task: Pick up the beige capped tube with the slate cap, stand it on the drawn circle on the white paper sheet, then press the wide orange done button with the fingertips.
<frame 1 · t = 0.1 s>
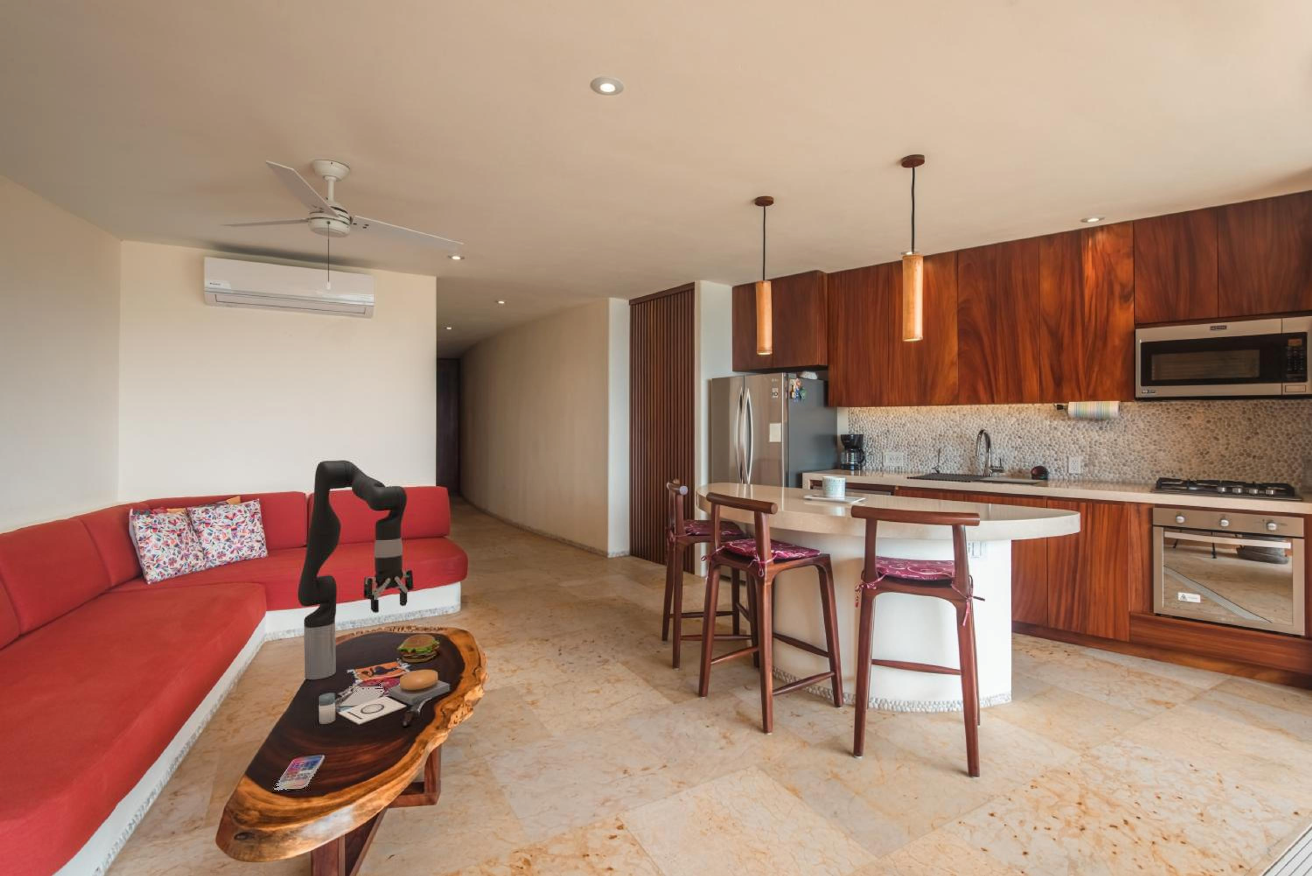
hand: (389, 608, 181), 29 cm above the table, tool pointing down, fingers open, 8 cm apart
done button: (419, 679, 192), point 4 cm above the table, slide at 0.0 cm
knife: (419, 709, 181), on the table, touching button base
beige capped tube: (327, 720, 173), on the table
food: (418, 658, 224), on the table
smartphone: (299, 776, 145), on the table
gaming console: (365, 697, 190), on the table
button base: (419, 693, 192), on the table
paper: (372, 710, 180), on the table
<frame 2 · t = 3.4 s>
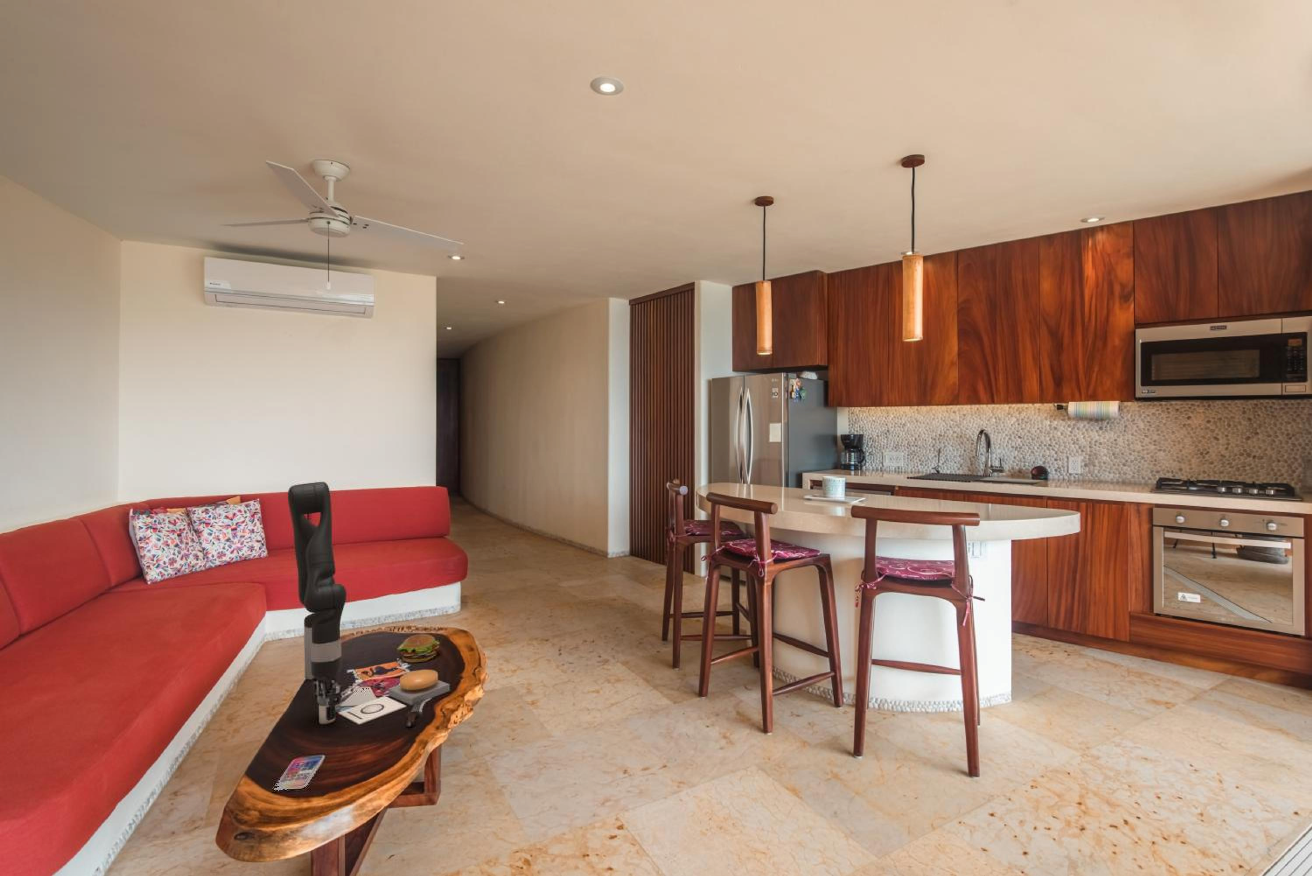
hand: (327, 716, 173), 1 cm above the table, tool pointing down, fingers closed on beige capped tube, 4 cm apart
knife: (420, 710, 181), on the table
beige capped tube: (327, 720, 173), on the table, touching gripper
everything else where it was.
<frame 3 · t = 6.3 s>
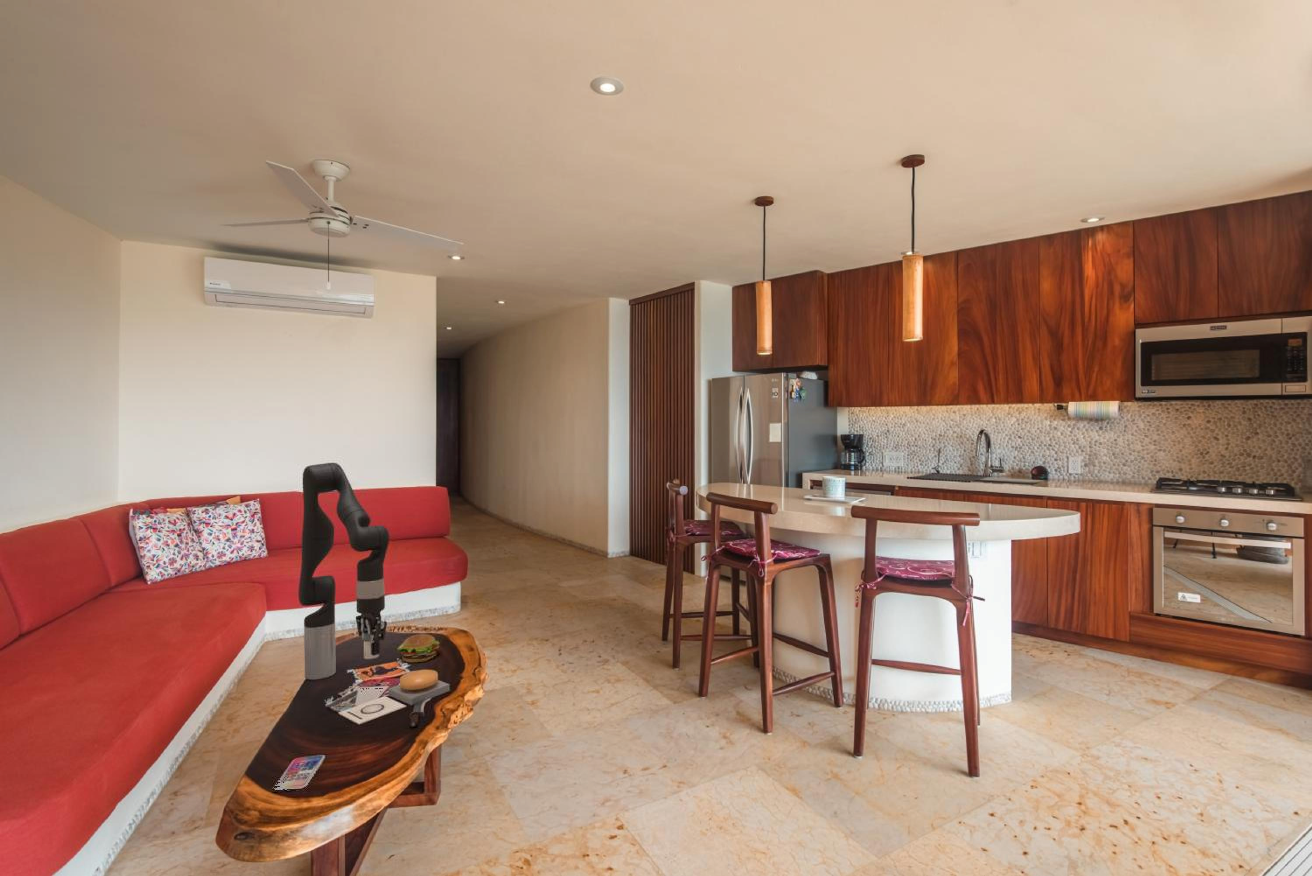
hand: (371, 652, 180), 17 cm above the table, tool pointing down, fingers closed on beige capped tube, 4 cm apart
beige capped tube: (371, 656, 180), point 16 cm above the table, touching gripper
when the fingers open (3 cm above the table, at t = 9.1 s): beige capped tube drops 1 cm, resting on paper.
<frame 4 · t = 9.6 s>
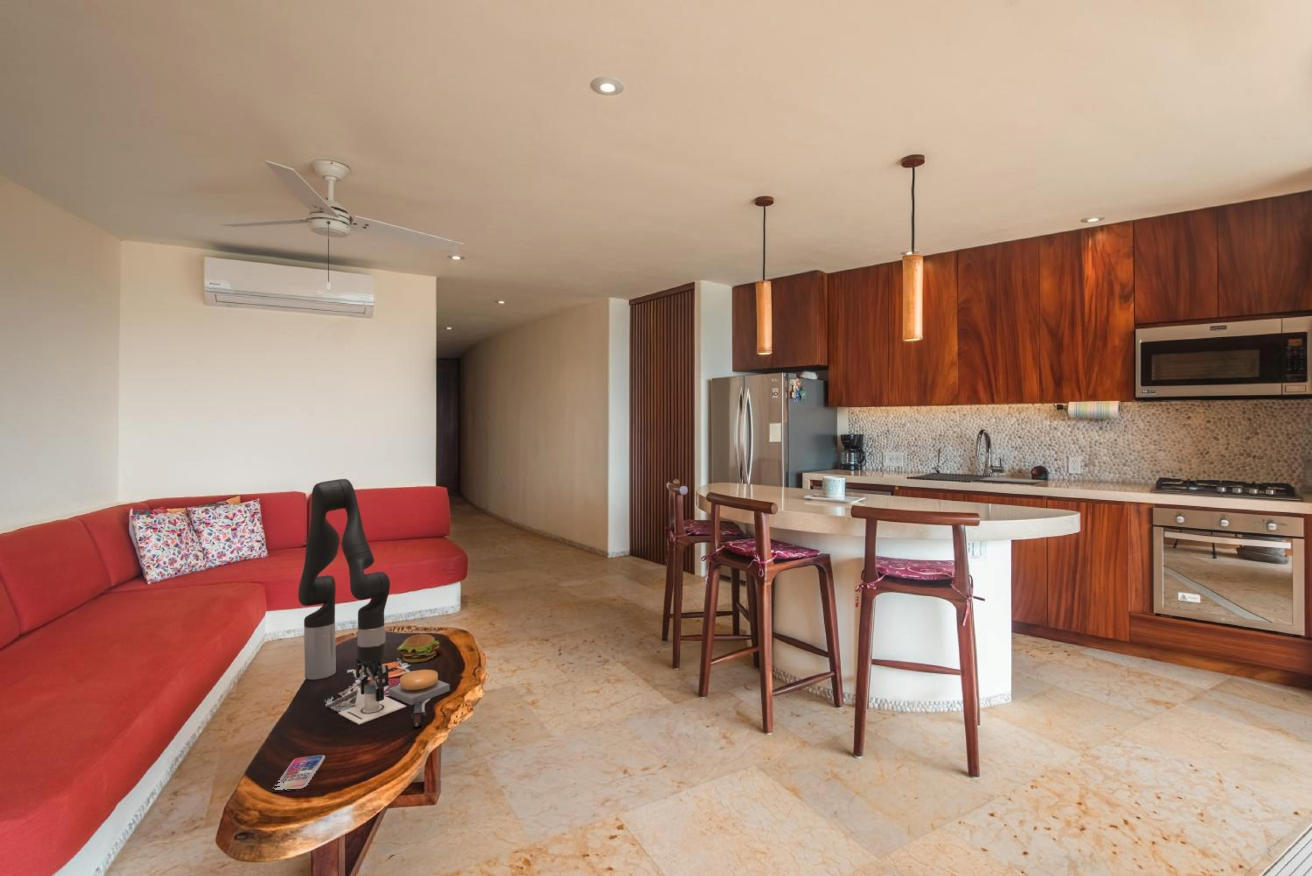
hand: (372, 697, 180), 4 cm above the table, tool pointing down, fingers open, 8 cm apart
beige capped tube: (372, 708, 180), resting on paper
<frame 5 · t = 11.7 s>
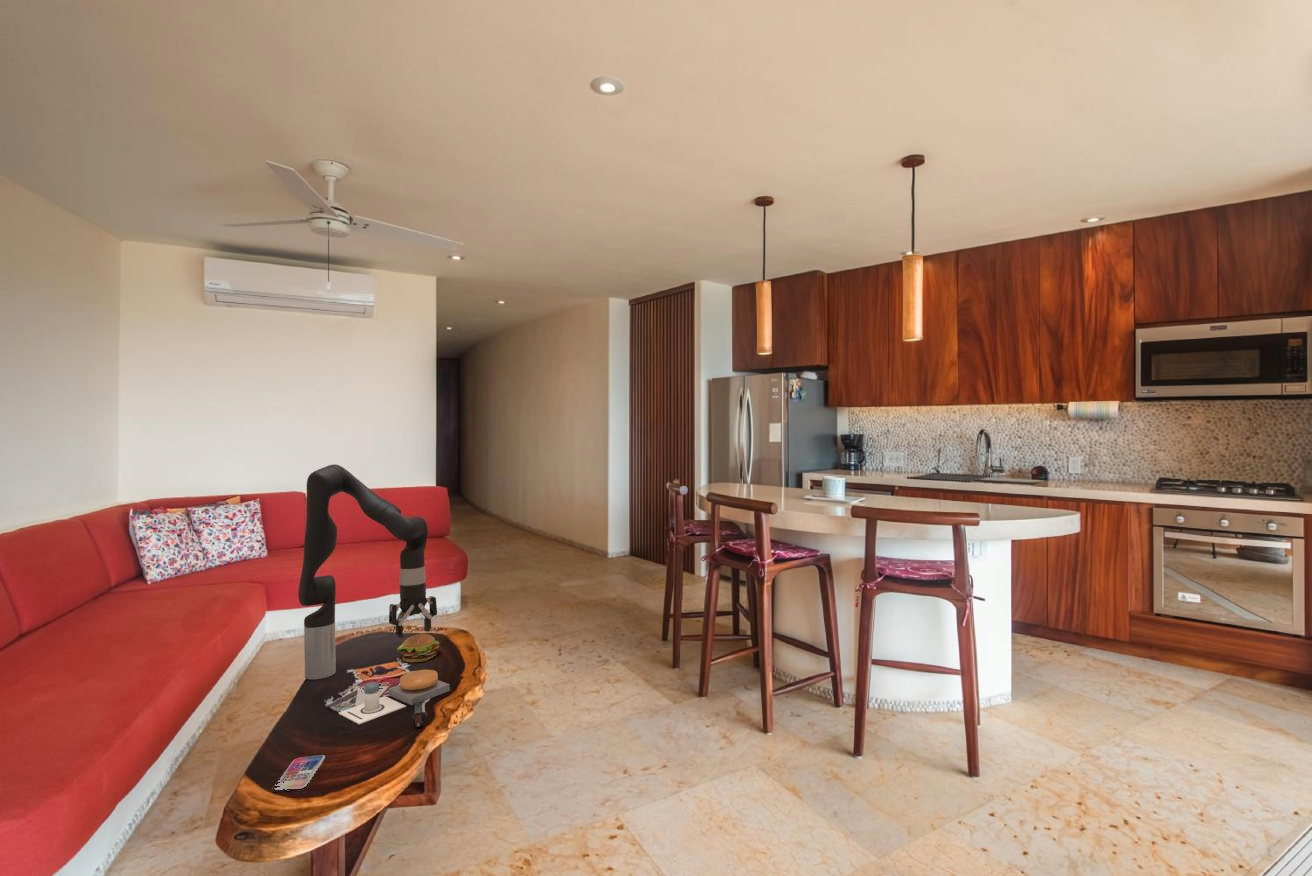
hand: (413, 634, 190), 19 cm above the table, tool pointing down, fingers open, 8 cm apart
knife: (421, 711, 180), on the table, touching button base
everything else where it was.
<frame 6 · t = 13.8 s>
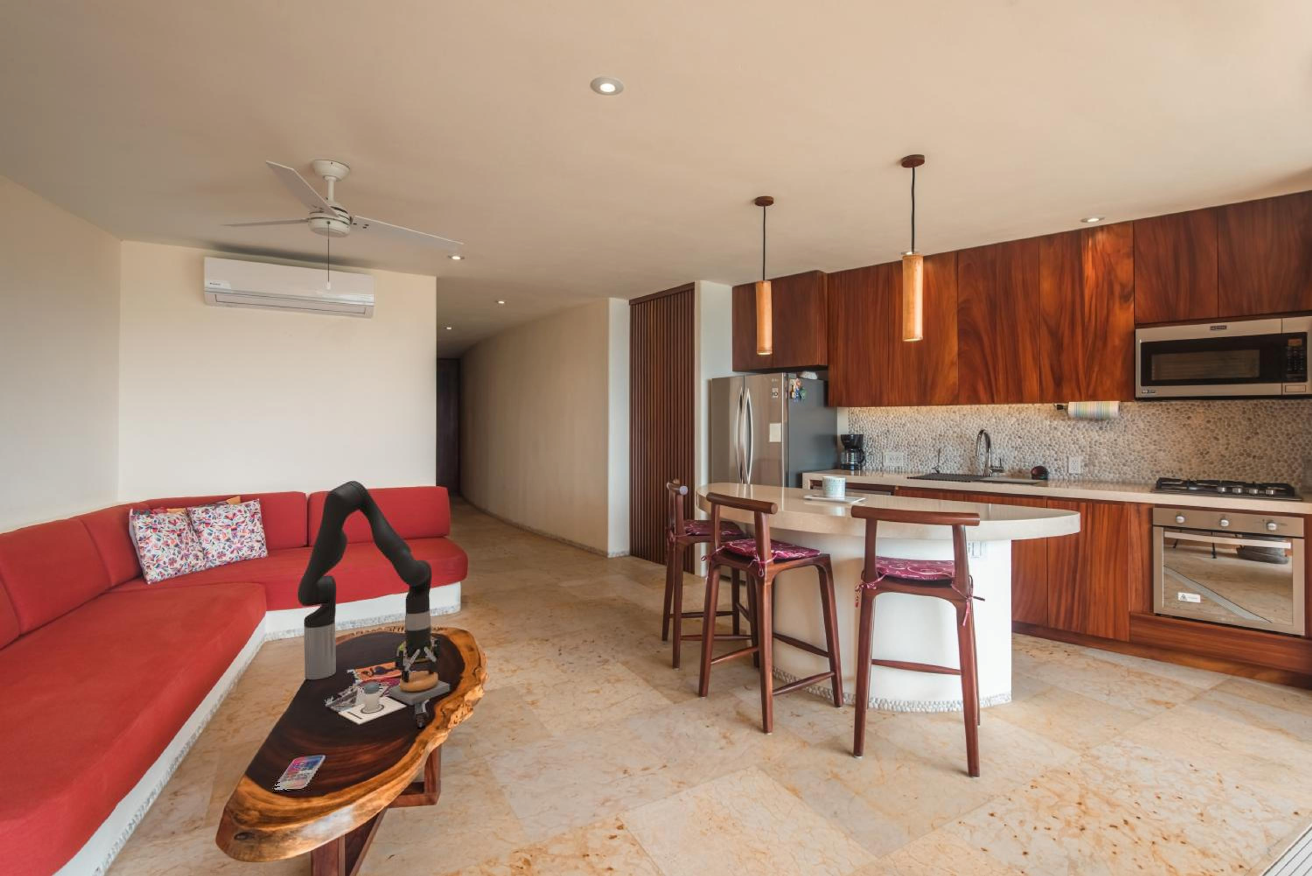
hand: (418, 677, 191), 5 cm above the table, tool pointing down, fingers open, 8 cm apart
done button: (419, 680, 192), point 4 cm above the table, slide at 0.4 cm, touching gripper
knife: (422, 711, 179), on the table
everything else where it was.
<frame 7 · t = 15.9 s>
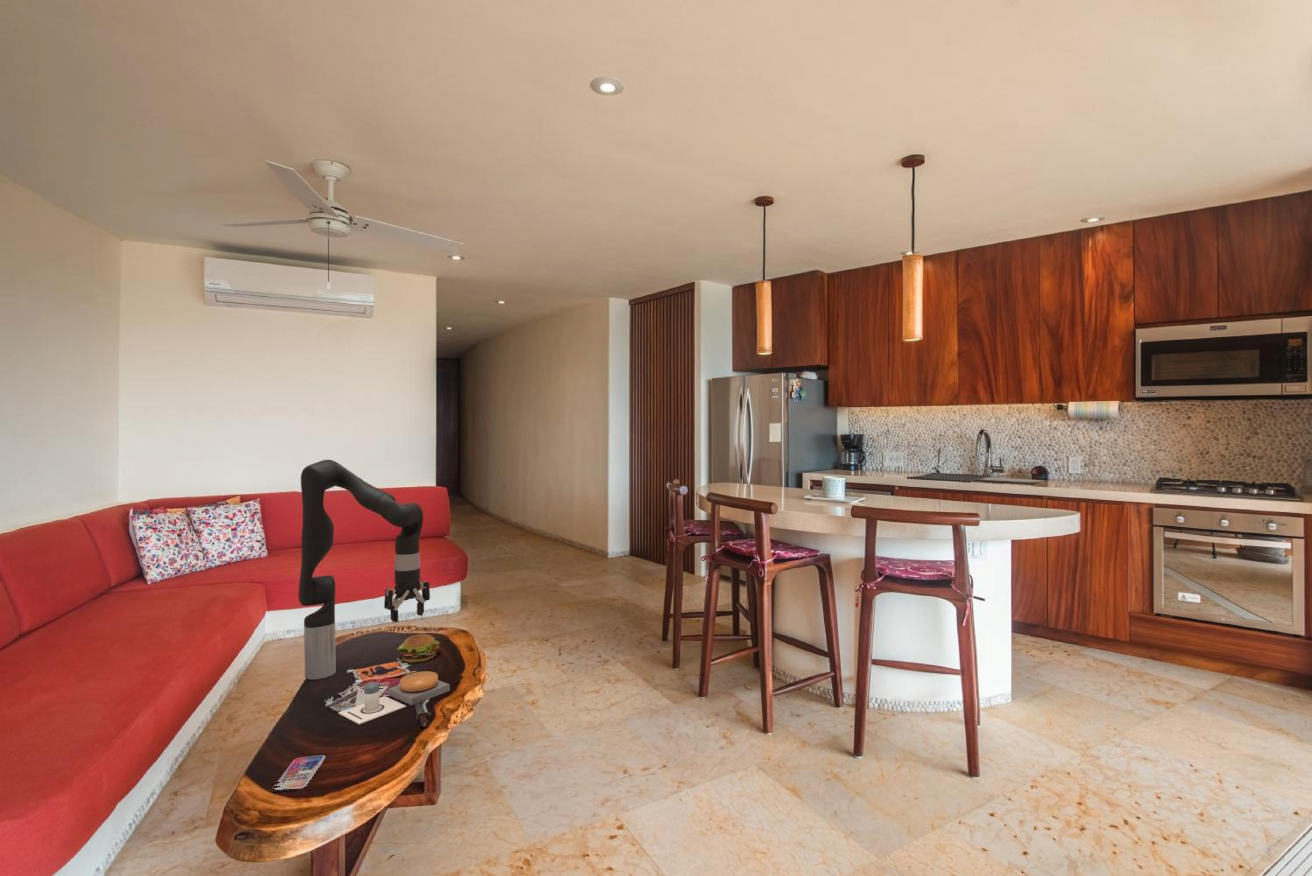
hand: (407, 618, 193), 23 cm above the table, tool pointing down, fingers open, 8 cm apart
done button: (419, 681, 192), point 4 cm above the table, slide at 0.5 cm
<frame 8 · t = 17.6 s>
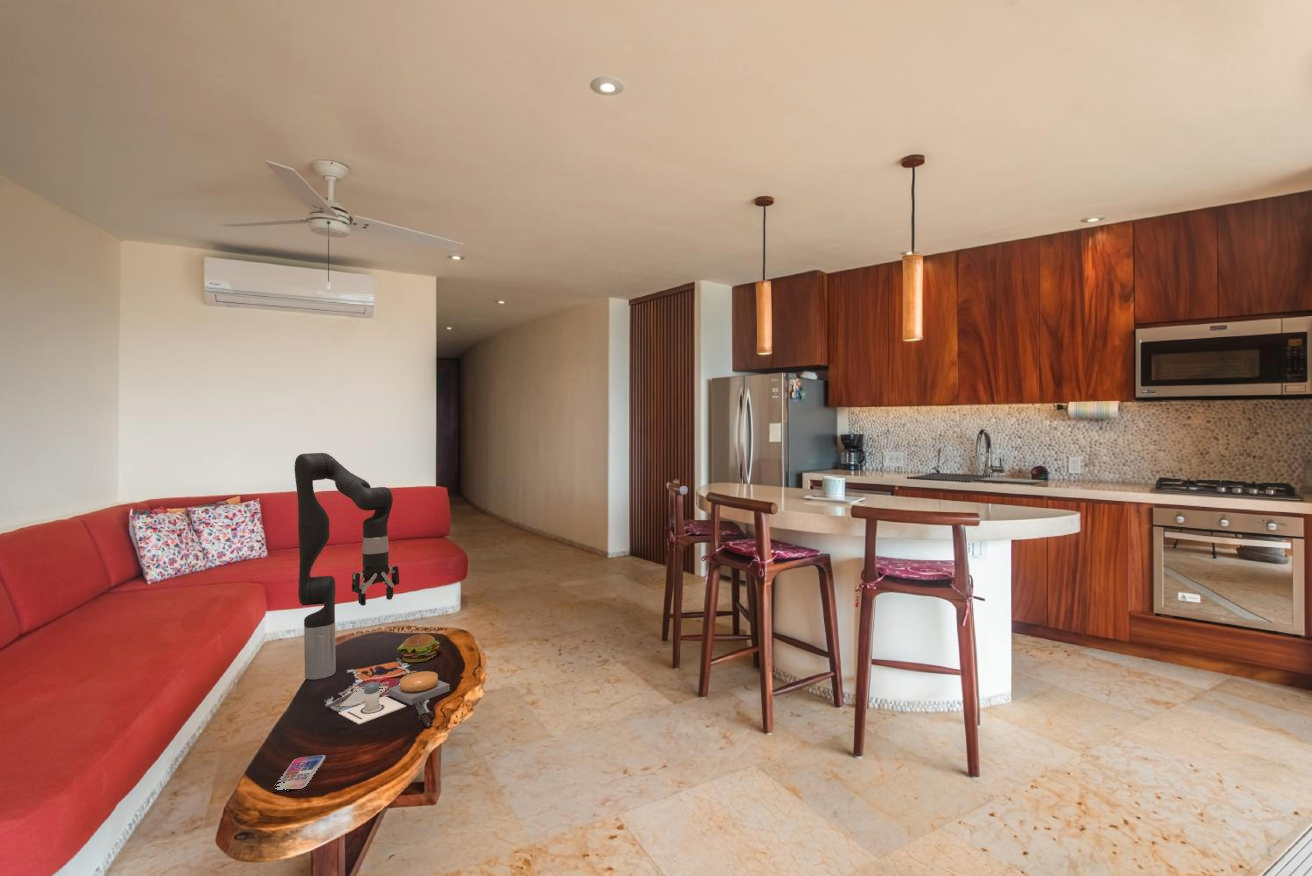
hand: (376, 602, 193), 28 cm above the table, tool pointing down, fingers open, 8 cm apart
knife: (424, 712, 179), on the table, touching button base
everything else where it was.
at the end: beige capped tube inside the target area on the paper (0.2 cm from its centre), point 0.5 cm above the paper's base; beige capped tube tilted 0°; done button slide at 0.5 cm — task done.
